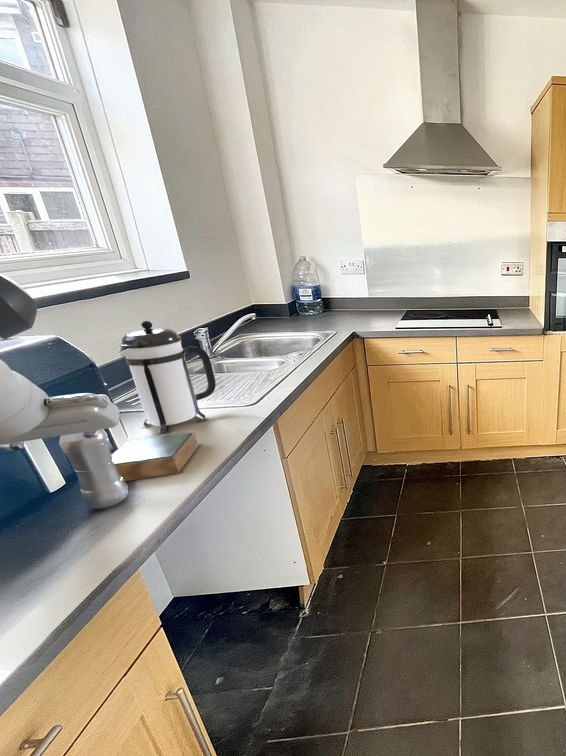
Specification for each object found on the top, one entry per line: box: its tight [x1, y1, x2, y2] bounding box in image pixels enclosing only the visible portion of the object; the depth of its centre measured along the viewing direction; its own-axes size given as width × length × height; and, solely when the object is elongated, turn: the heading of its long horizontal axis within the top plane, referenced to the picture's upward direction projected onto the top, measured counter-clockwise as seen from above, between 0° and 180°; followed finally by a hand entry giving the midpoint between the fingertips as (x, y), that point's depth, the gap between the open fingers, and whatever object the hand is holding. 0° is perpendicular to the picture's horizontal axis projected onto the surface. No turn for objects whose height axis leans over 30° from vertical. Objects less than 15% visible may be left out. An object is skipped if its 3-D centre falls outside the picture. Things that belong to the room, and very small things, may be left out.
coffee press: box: [117, 320, 217, 434], centre depth 117 cm, size 17×16×30 cm
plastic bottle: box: [58, 429, 129, 510], centre depth 81 cm, size 6×7×20 cm
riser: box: [111, 431, 199, 482], centre depth 98 cm, size 14×14×4 cm
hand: (57, 439), depth 71 cm, fingers open, 8 cm apart
